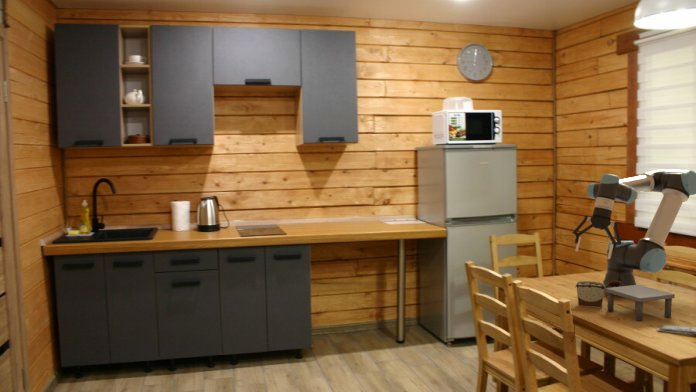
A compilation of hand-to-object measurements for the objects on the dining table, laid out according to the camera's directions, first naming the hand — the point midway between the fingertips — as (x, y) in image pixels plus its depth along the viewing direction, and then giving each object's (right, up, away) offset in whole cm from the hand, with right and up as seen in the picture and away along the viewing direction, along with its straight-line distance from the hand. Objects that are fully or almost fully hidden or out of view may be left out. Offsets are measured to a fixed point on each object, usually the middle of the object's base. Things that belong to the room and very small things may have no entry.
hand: (592, 255), depth 259 cm
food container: (-3, -22, -4) cm, 22 cm away
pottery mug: (+16, -21, +12) cm, 29 cm away
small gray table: (+12, -23, -18) cm, 31 cm away
